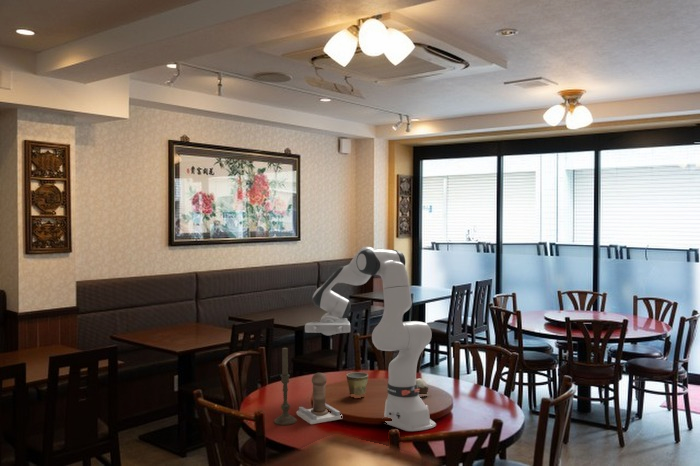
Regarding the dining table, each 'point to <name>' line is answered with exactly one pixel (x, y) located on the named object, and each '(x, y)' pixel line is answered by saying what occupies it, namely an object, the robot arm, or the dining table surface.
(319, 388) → the tan wooden upright piece
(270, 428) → the dining table surface
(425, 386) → the skull
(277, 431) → the dining table surface
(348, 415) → the dining table surface
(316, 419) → the tray
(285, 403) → the candlestick holder
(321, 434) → the dining table surface
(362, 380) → the ceramic cup
